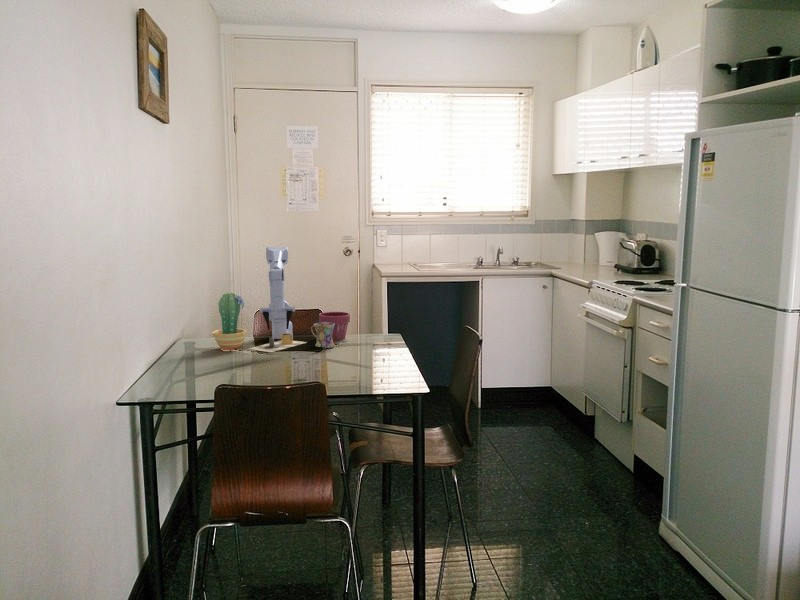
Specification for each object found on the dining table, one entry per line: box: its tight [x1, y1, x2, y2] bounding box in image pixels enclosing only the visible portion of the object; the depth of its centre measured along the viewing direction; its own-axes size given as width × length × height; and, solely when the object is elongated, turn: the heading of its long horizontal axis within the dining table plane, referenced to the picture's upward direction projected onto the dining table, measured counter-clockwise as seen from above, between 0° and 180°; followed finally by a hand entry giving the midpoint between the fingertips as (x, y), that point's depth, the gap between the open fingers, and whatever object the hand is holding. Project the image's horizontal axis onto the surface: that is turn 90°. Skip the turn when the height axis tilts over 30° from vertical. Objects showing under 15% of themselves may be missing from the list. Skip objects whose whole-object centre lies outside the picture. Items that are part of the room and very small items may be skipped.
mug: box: [310, 322, 335, 350], centre depth 301 cm, size 12×9×11 cm
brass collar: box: [280, 333, 294, 344], centre depth 305 cm, size 5×5×4 cm
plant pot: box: [318, 311, 351, 341], centre depth 315 cm, size 14×14×13 cm
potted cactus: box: [211, 292, 248, 351], centre depth 297 cm, size 15×15×25 cm
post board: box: [246, 337, 308, 355], centre depth 300 cm, size 24×14×5 cm, turn 148°
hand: (278, 329), depth 287 cm, fingers open, 7 cm apart
